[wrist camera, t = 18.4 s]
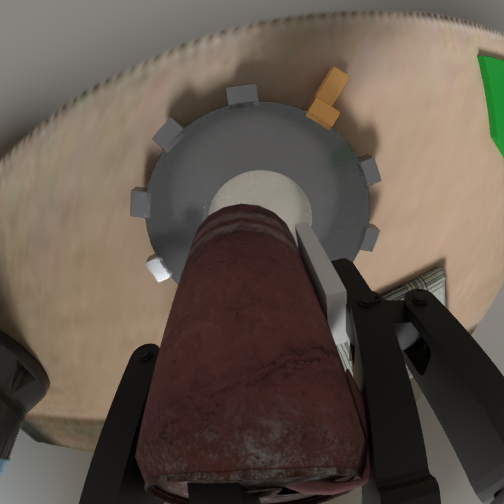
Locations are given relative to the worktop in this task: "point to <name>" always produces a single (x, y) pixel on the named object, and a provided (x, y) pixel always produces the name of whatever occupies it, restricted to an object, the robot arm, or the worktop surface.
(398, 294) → the dish towel
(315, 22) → the worktop surface
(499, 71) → the bracket
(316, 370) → the can
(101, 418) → the worktop surface
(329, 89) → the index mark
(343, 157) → the sprocket
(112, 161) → the worktop surface
